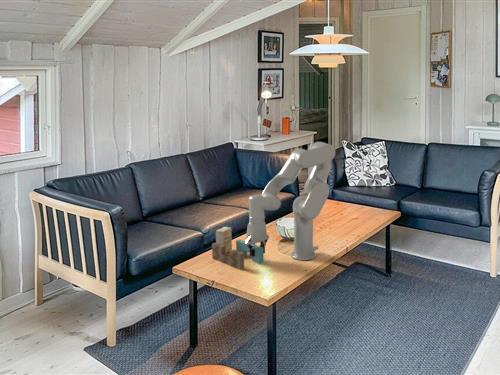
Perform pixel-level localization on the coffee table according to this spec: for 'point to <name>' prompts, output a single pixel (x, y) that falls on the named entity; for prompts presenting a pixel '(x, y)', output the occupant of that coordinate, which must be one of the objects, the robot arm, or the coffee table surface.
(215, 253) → the brown flat notched block
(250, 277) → the coffee table surface
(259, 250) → the teal plate
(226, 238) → the supplement box
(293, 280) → the coffee table surface
